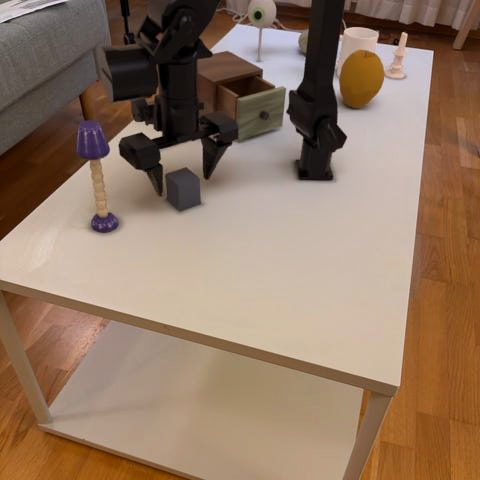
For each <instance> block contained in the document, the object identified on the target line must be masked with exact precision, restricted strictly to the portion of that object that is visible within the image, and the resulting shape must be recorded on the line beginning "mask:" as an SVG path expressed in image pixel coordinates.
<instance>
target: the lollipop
mask: <svg viewBox="0 0 480 480" xmlns="http://www.w3.org/2000/svg"><path fill="white" fill-rule="evenodd" d="M276 17H277V7H276V3H275V1H274V0H251V1H250V2H249V4H248V8H247V18H248V21H249V22H250V23H251V25H252V26H253V27H254V28H257V29H259V31H258V44H257V45H258V47H257V48H258V49H257V62H261V51H262V39H263V38H262V37H263V30H264V29H267V28H269V27H271V25H272V24H273V23H274V22H275V20H276Z"/></svg>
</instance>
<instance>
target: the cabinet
mask: <svg viewBox="0 0 480 480" xmlns="http://www.w3.org/2000/svg"><path fill="white" fill-rule="evenodd" d="M254 75H257V76H258V77H260V78H262V79H264V78H263V76H264V69H263V68H261V67H259V66H257V65H256V64H254V63H252V62H250V61H248V60H247V59H244V58H242V57H240V56H239V55H237V54H235V53H233V52H231V51H229V50H225V51H224V50H223V51H220V52H215V53H213V56H212V57H211V58H205V59H198V84H199V100H201V101H203V102H204V109H203V110H199V118H200V117H201V116H202V115H205V114H208V113H212V112H215V111H216V85H218V84H222V83H226V82H230V81H234V80H238V79H242V78H246V77H250V76H254Z"/></svg>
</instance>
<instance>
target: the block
mask: <svg viewBox="0 0 480 480" xmlns="http://www.w3.org/2000/svg"><path fill="white" fill-rule="evenodd" d="M164 179H165V194H166V201H167V202H168V203H170V204H171V205H172V206H173V207H174V208H175V209H176V210H177V211H178V212H183V211H185V210H190V209H191V208H193V207H194V208H195V207H196V206H199V205H201V203H202V202H201V201H202V200H201V178H200V176H198V175H197V174H196V173H195V172H193V171H192V170H191V169H189V168H188V167H187V166H185V167H182V168H179V169H176V170H173V171H170V172H167V173H165V174H164Z"/></svg>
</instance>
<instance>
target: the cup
mask: <svg viewBox="0 0 480 480" xmlns="http://www.w3.org/2000/svg"><path fill="white" fill-rule="evenodd" d="M378 39H379V33H378V32H377V31H375V30H374V29H371V28H366V27H356V26H355V27H354V26H353V27H348V28H345V29H344V31H343V34H340V39H339V42H341V47H340V51H339V58H338V60H336V65H335V68H337V70H336V75H337V77H338V78H340V73H341V68H342V65H343V64H344V62H345V60H346V59H347V58H348V57H349V56H350V55H351V54H352V53H353V52H355V51H357V50H367V51H370V52H373V53H375V52H376V49H377V44H378ZM375 54H376V53H375Z"/></svg>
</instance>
